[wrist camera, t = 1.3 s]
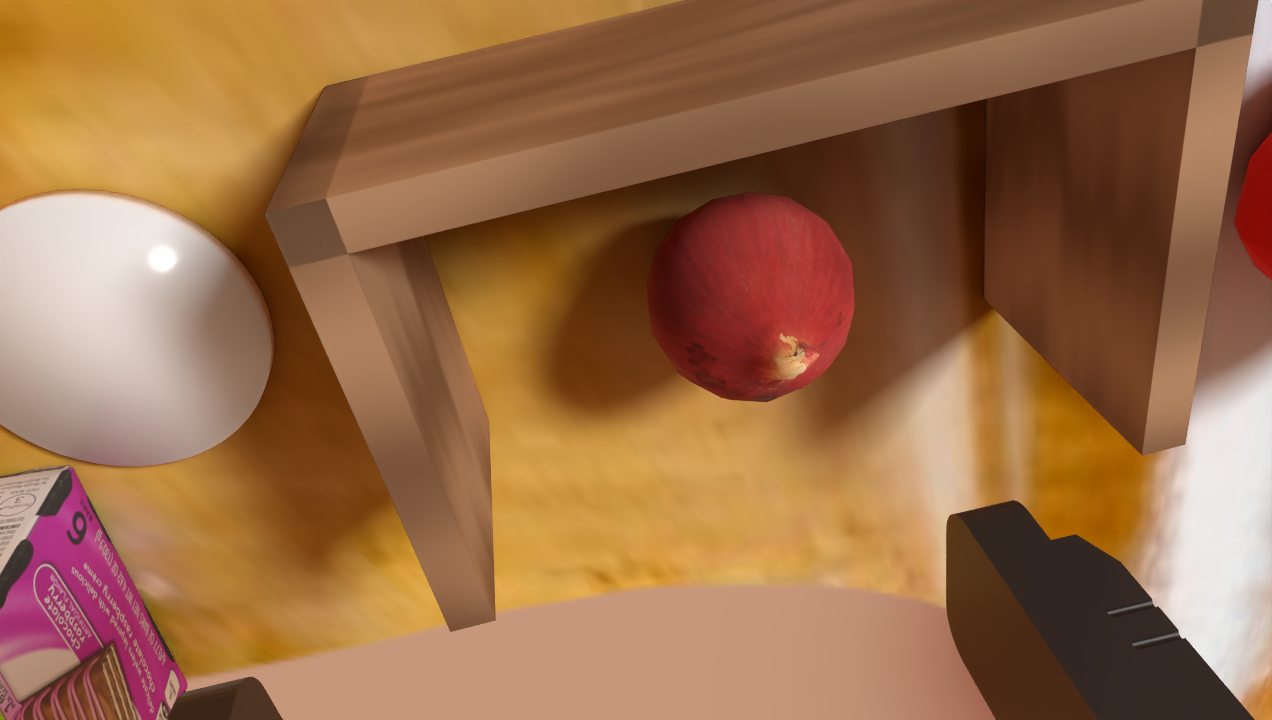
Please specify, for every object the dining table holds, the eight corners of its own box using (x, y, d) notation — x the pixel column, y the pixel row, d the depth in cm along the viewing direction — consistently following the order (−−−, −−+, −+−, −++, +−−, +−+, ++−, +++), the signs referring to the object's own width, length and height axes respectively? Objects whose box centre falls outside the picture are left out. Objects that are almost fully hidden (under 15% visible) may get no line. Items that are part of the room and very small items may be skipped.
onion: (780, 330, 32) (864, 477, 25) (615, 315, 30) (657, 465, 24) (829, 168, 29) (939, 284, 22) (649, 143, 28) (707, 257, 21)
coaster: (-126, 232, 26) (-142, 244, 25) (197, 155, 26) (189, 165, 25) (47, 479, 30) (38, 495, 30) (318, 412, 31) (314, 426, 30)
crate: (324, 86, 25) (264, 213, 18) (1030, -82, 26) (1262, -28, 18) (454, 430, 32) (450, 631, 24) (1017, 290, 32) (1185, 444, 25)
